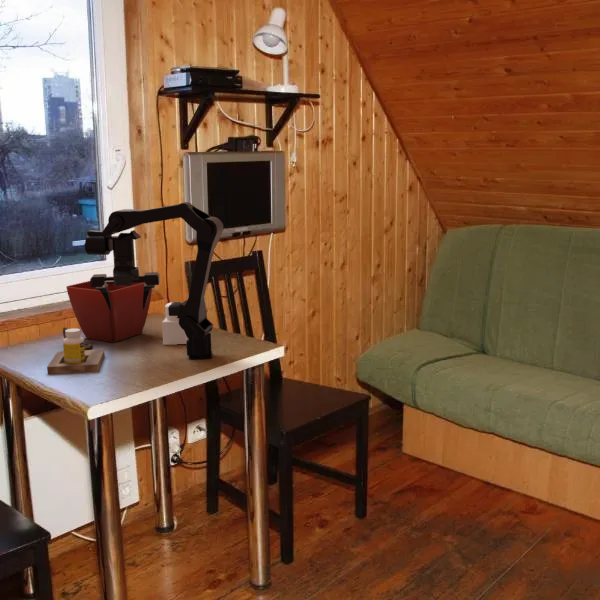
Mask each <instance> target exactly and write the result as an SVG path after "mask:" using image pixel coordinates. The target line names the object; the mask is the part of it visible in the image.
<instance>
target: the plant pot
mask: <svg viewBox="0 0 600 600" xmlns="http://www.w3.org/2000/svg"><path fill="white" fill-rule="evenodd" d="M144 285H145V284H144V282H137V283H132V285H130V286H126V285H120V286H115V285H114V283H110V284H108V286H109V292H110V298H111V305H112V310H111V311H110V310H109V307H108V305H107V303H106V300H105V298H104V296H103V295H102V293H101V292H100V291H99V290H96V289H95V288H96V287H90V280H88V281H83V282H79V283H75V284H70V285H66V292H67V296H68V299H69V302H70V305H71V308H72V311H73V313H74V316H75V318H76V321H77V322H78V325H79V327H80V330H81V331H82V333H83V335H84V336H85V338H87V339H91V338H92V339H93V340H99V341H104V342H111V343H115V342H119V341H122V340H126V339H128V338H131V337H135V336H138V335H140V334H142V333H143V331H144V329H145V326H146V323H147V322H146V321H147V318H148V317H147V316H148V315H149V314H148V313H149V309H150V304H151V298H152V293H153V292H152V291H153V288H151V289H150V291H149V294H148V297H147V301H146V305H145V309H143V293H144Z"/></svg>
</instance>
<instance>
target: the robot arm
mask: <svg viewBox="0 0 600 600" xmlns="http://www.w3.org/2000/svg"><path fill="white" fill-rule="evenodd" d="M174 219H182V220H183V221H184V222H186V223H187V225H188V226H189V227H190V228H191V229H193V230H194V231H195V233H196V234H195V235H196V236H195V237H196V238H195V239H196V247H197V252H196V258H195V263H194V266H193V267H194V268H193V272H192V273H193V274H192V278H191V283H190V288H189V295H188V298H187V299H186V300H183V302H181V304H180V306H179V315H178V316H177V319H178V318H179V325H180V327H181V328H182V329H183V330H184V331H185V334H186V336H187V338H188V339H187V341H186V356H188V360H198V359H199V360H201V359H202V360H203V359H204V360H205V359H212V358H213V350H212V335H211V334H212V333H211V332H212V330H213V328H214V324H213V323H212V322H211V321H210V320H209V319H208V318H207V317H206V303H205V295H206V291H207V285H208V282H209V281H208V280H209V274H210V270H211V265H212V260H213V257H214V252H215V250H216V247H217V246H218V244H219V242H220V239H221V236H222V234H223V232H224V224H223V222H222V221H221V219H219V218H218V217H216V216H211V215H209V214H208V213H206V212H205V211H203V210H201V209H199V208H198V207H196V206H194V204H192V203H191V202H188V201H185V202H181V203H178V204H173V205H166V206H161V207H153V208H149V209H135V208H134V209H132V208H131V209H130V208H128V209H127V208H124V209H119V210H115V211H113V212H111V213H110V214H109V215H108V220H107V221H108V222H107V224H106V226H105V227H104V229H103V230H93V229H92V230H91V229H90V230H87V232H86V234H87V235H86V237H85V241H84V251H85V253H86V254H87V255H91V256H92V255H93V256H98V255H99V256H103V255H104V256H108V255H110V253H111V252H112V253H113V254H112V255H113V269H112V276H108V275H107V274H106V273H100V274H97V273H96V274H93V275H92V276H91V277H90V279H89V281H90V287H96V288H95V289H96V290H99V291H100V292H101V293H102V295H103V296H104V298H105V300H106V303H107V305H108V307H109V310H110V311H111V310H112V305H111V298H110V292H109V286H108V284H110V283H114V285H115V286H120V285H126V286H130V285H132V283H137V282H144V284H145V285H144V293H143V309H145V305H146V301H147V297H148V294H149V291H150V289H151V288H152V289H154V288H155V287H156V286H159V285H160V282H161V279H160V278H161V277H160V274H159V272H157V271H152V272H145V273H144V275H140V269H139V266H136V263H135V262H136V259H135V244H134V243H135V240H138V239H141V238H142V236H141V235H140V234H139V233H138V232H137V231H136V230H135V229H133V228H135V227H139V226H142V225H145V224H151V223H156V222H160V221H161V222H163V221H168V220H174ZM130 229H133V230H131V231H130V232H125V231H127V230H130ZM115 234H118V235H115Z"/></svg>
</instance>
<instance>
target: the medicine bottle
mask: <svg viewBox="0 0 600 600" xmlns="http://www.w3.org/2000/svg"><path fill="white" fill-rule="evenodd" d="M181 303H182V301H173V302H168V303H165V305H164V310H165V311H164V312H165V318H164V319H163V320H162V322H161V327H162V329H161V330H162V345H165V346H177V344H186V341H187V339H188V338H187V336H186V334H185V331H184V330H183V329H182V328H181V327H180V325H179V318H178V319H177V316H178V315H179V306H180V304H181ZM186 345H187V344H186Z"/></svg>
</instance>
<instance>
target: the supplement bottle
mask: <svg viewBox="0 0 600 600" xmlns="http://www.w3.org/2000/svg"><path fill="white" fill-rule="evenodd" d="M81 331H82V329H81V328H67V330H65V336H66V338H65V339H64V338H63V341H62V345H63V351H64V361H65V363H84V362H85V350H84V343H85V341H84V337H82V336H81V335H82V333H81Z"/></svg>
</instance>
